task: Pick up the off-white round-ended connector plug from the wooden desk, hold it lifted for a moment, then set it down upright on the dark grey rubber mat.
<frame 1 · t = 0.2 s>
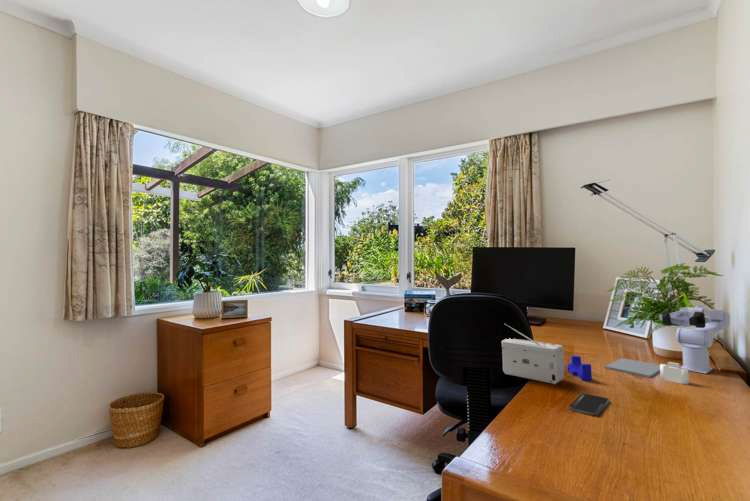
hand: (676, 320, 128), 21 cm above the table, tool horizontal, fingers open, 7 cm apart
blue notched block: (579, 376, 136), on the table
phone: (590, 407, 109), on the table
connector plug: (674, 381, 128), on the table
desk mat: (635, 368, 142), on the table
stereo radio cassette player: (531, 377, 136), on the table
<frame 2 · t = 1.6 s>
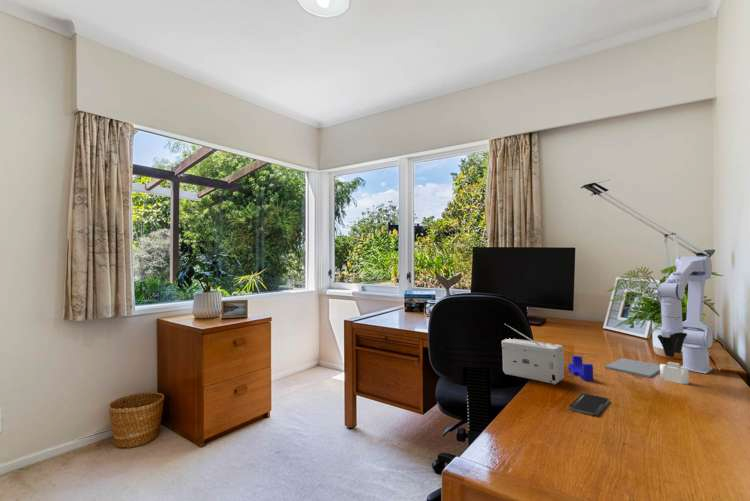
hand: (673, 354, 128), 9 cm above the table, tool pointing down, fingers open, 7 cm apart
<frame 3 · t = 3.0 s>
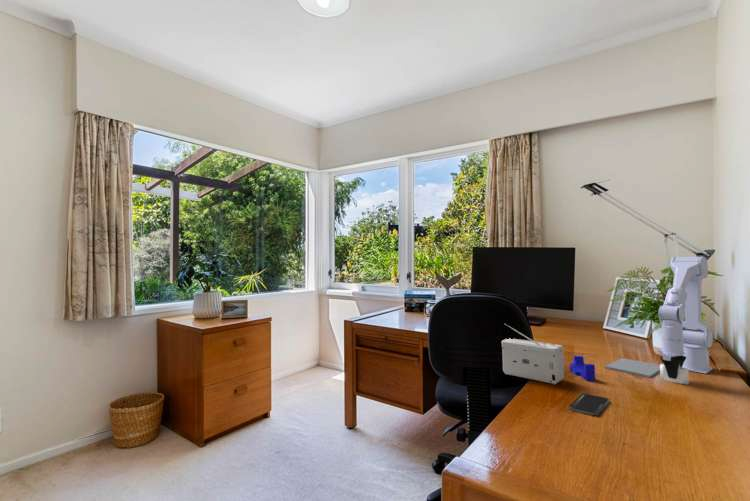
hand: (674, 377, 128), 1 cm above the table, tool pointing down, fingers closed on connector plug, 3 cm apart
connector plug: (674, 381, 128), on the table, touching gripper
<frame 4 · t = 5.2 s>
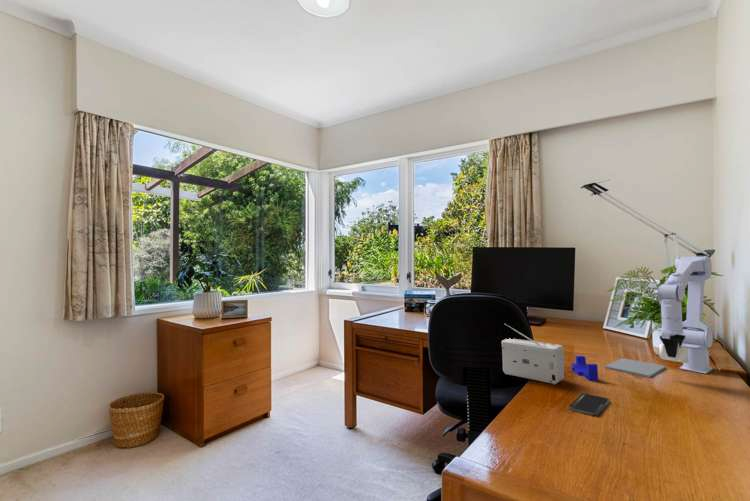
hand: (673, 355, 128), 9 cm above the table, tool pointing down, fingers closed on connector plug, 3 cm apart
connector plug: (673, 359, 128), point 7 cm above the table, touching gripper
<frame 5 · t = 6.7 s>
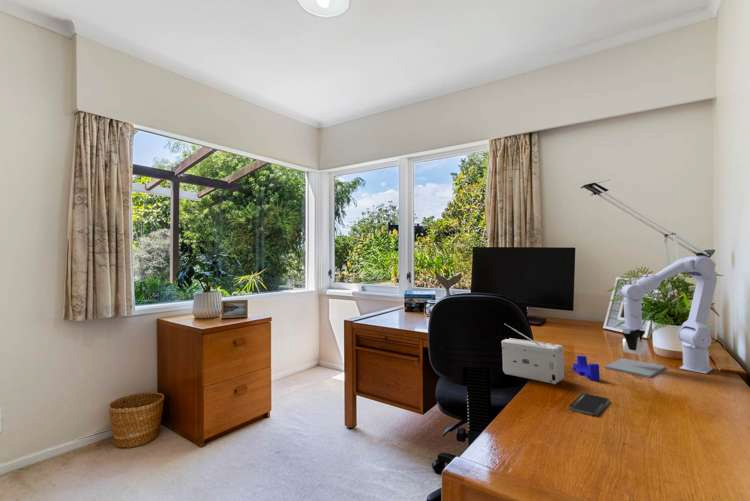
hand: (634, 349, 143), 8 cm above the table, tool pointing down, fingers closed on connector plug, 3 cm apart
connector plug: (634, 352, 142), point 6 cm above the table, touching gripper
when the fingers open (3 cm above the table, at t = 7.7 s): connector plug drops 1 cm, resting on desk mat.
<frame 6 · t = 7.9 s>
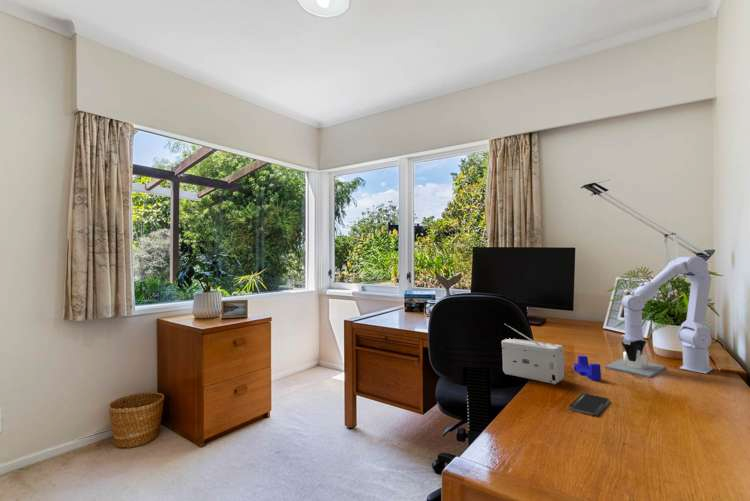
hand: (634, 359, 142), 3 cm above the table, tool pointing down, fingers open, 5 cm apart
connector plug: (635, 366, 142), point 1 cm above the table, touching desk mat
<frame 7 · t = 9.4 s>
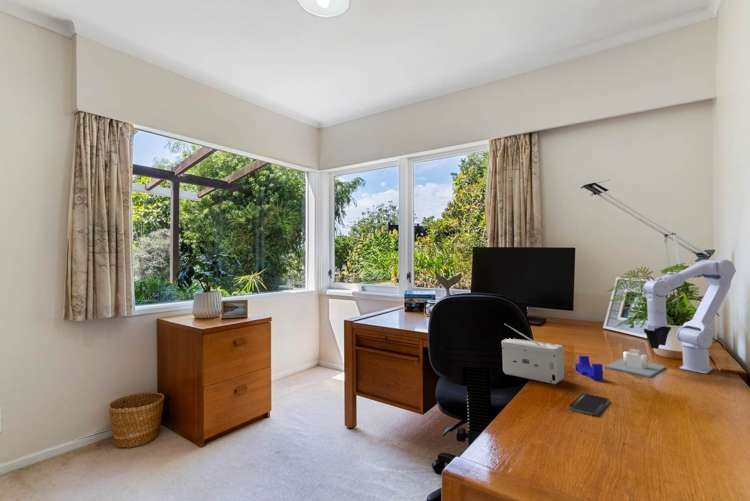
hand: (658, 346, 139), 9 cm above the table, tool pointing down, fingers open, 7 cm apart
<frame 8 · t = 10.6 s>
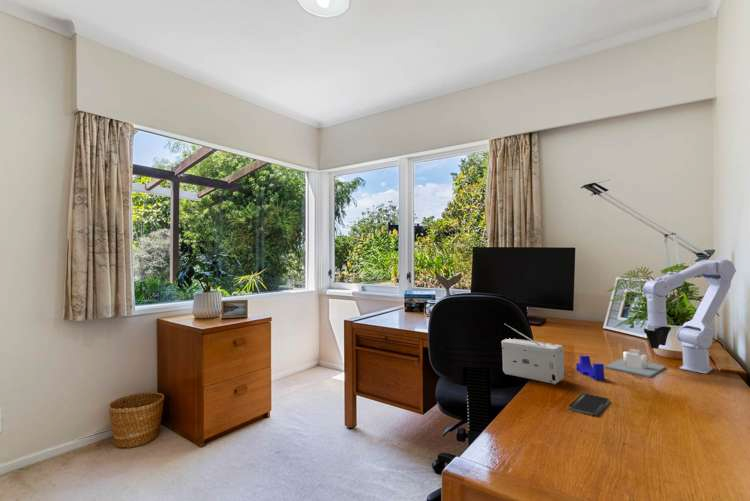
hand: (658, 346, 139), 9 cm above the table, tool pointing down, fingers open, 7 cm apart
at the end: connector plug inside the target area on the desk mat (0.2 cm from its centre), point 0.8 cm above the desk mat's base; connector plug tilted 0°; the gripper is holding nothing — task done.
